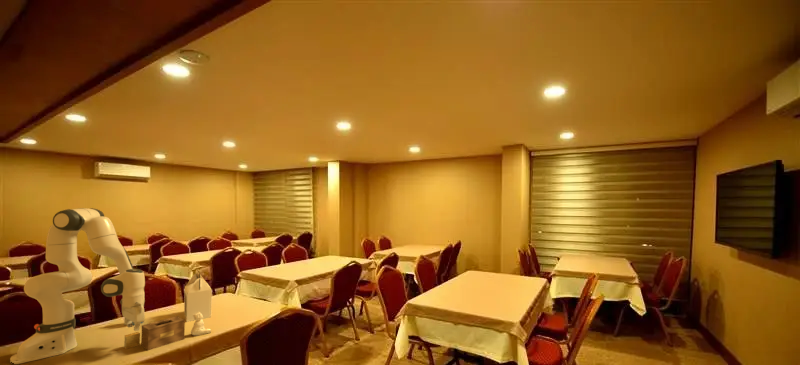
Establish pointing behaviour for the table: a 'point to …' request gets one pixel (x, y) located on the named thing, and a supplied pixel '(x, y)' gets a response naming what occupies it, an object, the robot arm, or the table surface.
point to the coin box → (162, 332)
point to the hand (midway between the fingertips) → (133, 328)
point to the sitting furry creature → (199, 325)
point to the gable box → (197, 298)
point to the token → (132, 340)
